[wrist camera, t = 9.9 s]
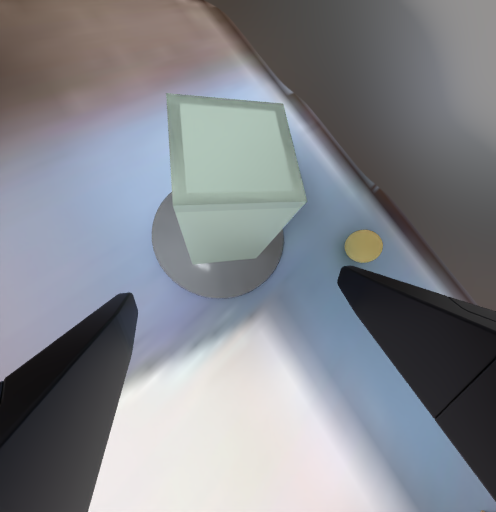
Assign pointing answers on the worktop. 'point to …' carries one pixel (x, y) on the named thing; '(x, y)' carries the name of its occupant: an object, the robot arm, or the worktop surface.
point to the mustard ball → (363, 246)
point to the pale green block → (231, 175)
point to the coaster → (208, 274)
